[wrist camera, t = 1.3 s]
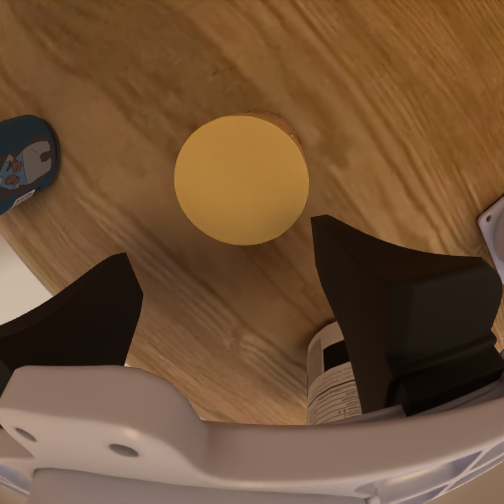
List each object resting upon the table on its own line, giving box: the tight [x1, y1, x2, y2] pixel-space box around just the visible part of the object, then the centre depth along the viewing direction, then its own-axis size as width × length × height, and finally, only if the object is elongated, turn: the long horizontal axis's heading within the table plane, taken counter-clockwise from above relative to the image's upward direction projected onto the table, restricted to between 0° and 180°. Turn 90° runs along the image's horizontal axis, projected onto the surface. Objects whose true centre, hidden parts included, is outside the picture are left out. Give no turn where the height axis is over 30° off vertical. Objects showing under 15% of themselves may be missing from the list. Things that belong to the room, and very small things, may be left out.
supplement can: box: [307, 321, 362, 425], centre depth 20 cm, size 8×8×15 cm
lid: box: [174, 113, 309, 245], centre depth 14 cm, size 6×6×2 cm
